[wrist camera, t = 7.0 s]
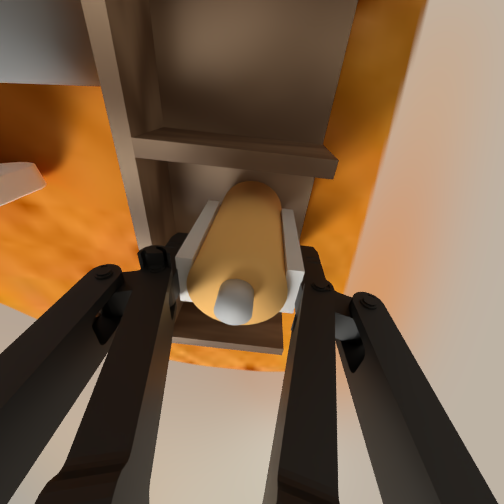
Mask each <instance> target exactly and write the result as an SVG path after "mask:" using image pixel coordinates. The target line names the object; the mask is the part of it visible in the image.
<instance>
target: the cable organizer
mask: <svg viewBox="0 0 504 504" xmlns="http://www.w3.org/2000/svg"><path fill="white" fill-rule="evenodd" d="M46 185H47V183H46V181H45V180H44V178H43V176H42V175H41V173H40V171H39V170H38V168H37V166H36V165H35V164H34V163H31V162H11V163H0V206H2V205H4V204H6V203H9V202H11V201H14V200H16V199H18V198H21V197H23V196H26V195H28V194H30V193H33V192H35V191H37V190H40V189H42V188H44V187H45V186H46Z"/></svg>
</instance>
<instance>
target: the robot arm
mask: <svg viewBox="0 0 504 504" xmlns="http://www.w3.org/2000/svg"><path fill="white" fill-rule="evenodd" d="M219 208H220V201H211V200H208V202H207V204H206V205H205V207H204V209H203V210H202V212H201V214H200V216H199V217H198V219H197V221H196V222H195V224H194V226H193V227H192V229H191V231H190V233H180V232H178V233H177V234H175V235H173V236H172V237H171V238H170V240H169V241H168V243H167V244H166V245H165V246H162V245H150V246H147V247H144V248H143V249H141V250H140V251H139V252H138V253H137V254H138V258H139V262H140V267H141V269H140V270H138V271H131V272H122V270H121V268H120V267H119V266H117V265H114V264H106V265H101V266H98V267H96V268H94V269H92V270H91V271H89V272H88V273H87V274H86V275H85V276H84V277H83V278H82V279H81V280H80V281H78V282H77V283H76V284H75V285H74V286H73V287H72V288H71V289H70V290H69V291H68V292H67V293H66V294H64V295H63V296H62V297H61V298H60V299H59V300H58V301H57V302H56V303H55V304H54V305H53V306H52V307H50V308H49V309H48V310H47V311H46V312H45V313H44V314H43V315H42V316H41V317H40V318H39V319H38V320H36V321H35V322H34V324H32V325H31V326H30V327H29V328H28V329H27V330H26V331H25V332H24V333H22V334H21V335H20V336H19V337H18V338H17V339H16V340H15V341H14V342H13V343H12V344H11V345H10V346H8V347H7V348H6V349H5V350H4V351H3V352H2V353H1V354H0V504H7V503H8V502H9V500H10V499H11V497H12V496H13V494H14V493H15V491H16V490H17V488H18V487H19V485H20V484H21V482H22V481H23V479H24V478H25V476H26V475H27V473H28V472H29V470H30V469H31V467H32V466H33V464H34V463H35V461H36V460H37V458H38V457H39V455H40V454H41V452H42V451H43V449H44V447H45V446H46V445H47V443H48V442H49V440H50V439H51V437H52V436H53V434H54V433H55V431H56V430H57V428H58V427H59V425H60V424H61V422H62V421H63V419H64V417H65V416H66V415H67V413H68V412H69V410H70V409H71V407H72V406H73V404H74V403H75V401H76V399H77V398H78V397H79V395H80V393H81V392H82V391H83V389H84V387H85V386H86V385H87V383H88V382H89V380H90V379H91V377H92V375H93V374H94V372H95V371H96V369H97V368H98V366H99V365H100V363H101V362H102V360H103V359H104V357H105V356H106V354H107V353H108V354H107V357H106V359H105V362H104V364H103V367H102V369H101V372H100V375H99V377H98V380H97V382H96V385H95V387H94V390H93V393H92V395H91V398H90V400H89V403H88V405H87V408H86V411H85V413H84V416H83V418H82V421H81V424H80V426H79V429H78V431H77V434H76V436H75V439H74V441H73V444H72V446H71V449H70V452H69V454H68V457H67V460H66V462H65V464H64V466H63V467H62V469H61V470H60V472H59V473H58V474H57V475H56V476H55V477H53V478H52V479H51V480H50V481H49V482H48V483H47V484H46V486H45V487H44V488H43V490H42V491H41V493H40V494H39V496H38V498H37V500H36V502H35V504H149V485H150V478H151V472H152V465H153V459H154V453H155V445H156V440H157V433H158V426H159V420H160V414H161V407H162V401H163V394H164V388H165V381H166V375H167V369H168V362H169V356H170V350H171V343H172V337H173V330H174V324H175V317H176V311H177V302H176V300H177V298H178V295H179V293H180V301H188V302H192V300H191V298H190V296H189V294H188V291H187V276H188V273H189V271H190V269H191V267H192V265H193V263H194V261H195V259H196V257H197V255H198V253H199V250H200V248H201V246H202V244H203V242H204V240H205V238H206V236H207V233H208V231H209V229H210V227H211V225H212V223H213V221H214V219H215V216H216V214H217V212H218V210H219ZM281 221H282V234H283V247H284V260H285V273H286V280H287V288H288V295H287V299H286V302H285V304H284V306H283V308H282V309H281V310H280V311H279V312H285V313H293V311H294V308H295V312H296V314H295V317H294V321H293V324H292V328H291V330H292V333H291V339H290V345H289V351H288V357H287V363H286V369H285V375H284V380H283V386H282V393H281V399H280V404H279V410H278V416H277V422H276V428H275V434H274V440H273V446H272V451H271V457H270V463H269V469H268V475H267V481H266V488H265V493H264V499H263V503H262V504H340V503H339V497H338V461H337V460H338V459H337V411H336V410H337V409H336V408H337V407H336V353H335V341H336V344H337V348H338V350H339V354H340V357H341V361H342V365H343V368H344V372H345V375H346V378H347V382H348V385H349V389H350V392H351V395H352V399H353V402H354V406H355V409H356V413H357V416H358V419H359V423H360V426H361V429H362V433H363V436H364V440H365V443H366V447H367V450H368V454H369V457H370V460H371V463H372V467H373V470H374V474H375V477H376V481H377V484H378V487H379V491H380V494H381V498H382V501H383V504H498V503H497V501H496V499H495V497H494V496H493V494H492V492H491V490H490V489H489V487H488V485H487V483H486V482H485V480H484V478H483V476H482V475H481V473H480V471H479V469H478V468H477V466H476V464H475V462H474V461H473V459H472V457H471V455H470V454H469V452H468V450H467V449H466V447H465V445H464V443H463V441H462V440H461V438H460V436H459V435H458V433H457V431H456V429H455V428H454V426H453V424H452V422H451V421H450V419H449V417H448V415H447V414H446V412H445V410H444V408H443V407H442V405H441V403H440V402H439V400H438V398H437V396H436V394H435V393H434V391H433V389H432V387H431V386H430V384H429V382H428V381H427V379H426V377H425V375H424V373H423V372H422V370H421V368H420V366H419V365H418V363H417V361H416V359H415V358H414V356H413V355H412V353H411V351H410V349H409V347H408V346H407V344H406V342H405V340H404V339H403V337H402V335H401V333H400V332H399V330H398V328H397V327H396V325H395V323H394V321H393V320H392V318H391V316H390V314H389V313H388V311H387V309H386V307H385V305H384V304H383V303H382V302H381V300H380V299H378V298H377V297H376V296H374V295H372V294H369V293H366V292H357V293H355V294H354V295H353V297H349V296H346V295H343V294H341V293H338V292H336V291H335V290H334V288H333V285H332V284H331V283H330V282H329V281H327V280H326V279H325V275H324V272H323V269H322V265H321V262H320V259H319V255H318V252H317V251H316V250H315V249H314V248H313V247H309V246H301V245H300V244H299V239H298V233H297V228H296V223H295V218H294V213H293V210H291V209H282V210H281ZM108 351H109V352H108Z"/></svg>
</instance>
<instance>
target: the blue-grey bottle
mask: <svg viewBox="0 0 504 504" xmlns="http://www.w3.org/2000/svg"><path fill="white" fill-rule="evenodd" d="M0 83H23V84H50V85H77V86H101V85H100V81H99V76H98V72H97V68H96V64H95V59H94V55H93V51H92V46H91V42H90V38H89V34H88V29H87V25H86V21H85V17H84V12H83V8H82V4H81V0H0Z"/></svg>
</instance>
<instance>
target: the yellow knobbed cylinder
mask: <svg viewBox="0 0 504 504" xmlns="http://www.w3.org/2000/svg"><path fill="white" fill-rule="evenodd" d="M281 210H282V209H281V202H280V199H279V197H278V195H277V194H276V193H275V191H274V190H273V189H272V188H270V187H269V186H267V185H266V184H264V183H261V182H257V181H245V182H241V183H238V184H236V185H235V186H233V187H232V188H231V189H230V190H229V191H228V192H227V194H226V195H225V197H224V199H223V201H222V204H221V206H220V208H219V210H218V212H217V214H216V216H215V219H214V221H213V223H212V225H211V227H210V229H209V231H208V233H207V236H206V238H205V240H204V242H203V244H202V246H201V248H200V250H199V253H198V255H197V257H196V259H195V261H194V263H193V265H192V267H191V269H190V271H189V273H188V276H187V291H188V294H189V296H190V298H191V300H192V302H193V303H194V304H195V305H196V306H197V307H198V309H200V310H201V311H202V312H203V313H205V314H206V315H208V316H210V317H211V318H213V319H216V320H218V321H221V322H223V323H225V324H229V325H250V324H256V323H260V322H263V321H266V320H268V319H270V318H272V317H273V316H275V315H276V314H277V313H278V312H279V311H280V310H281V309H282V308H283V306H284V304H285V302H286V299H287V295H288V288H287V280H286V273H285V260H284V247H283V234H282V221H281Z"/></svg>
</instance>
